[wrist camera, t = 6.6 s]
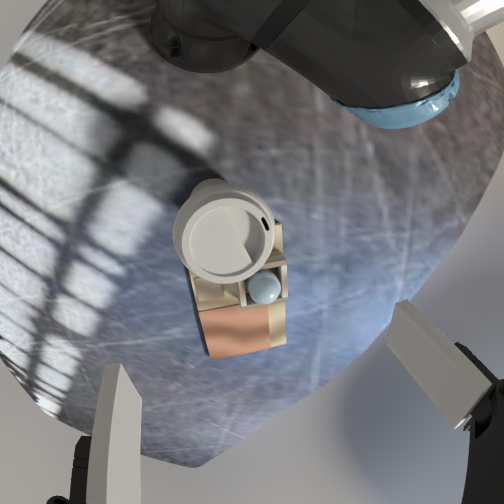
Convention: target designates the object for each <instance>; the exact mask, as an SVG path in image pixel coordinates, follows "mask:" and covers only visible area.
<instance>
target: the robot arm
mask: <svg viewBox="0 0 504 504" xmlns="http://www.w3.org/2000/svg"><path fill="white" fill-rule="evenodd" d="M158 1H159V2H158V3H157V5H156V7H155V9H154V11H153V14H152V18H151V35H152V38H153V41H154V43H155V46H156V48H157V49H158V51H159V52H160V54H161V55H162V56H163V57H164V58H165V59H166V60H167V61H169V62H170V63H172V64H173V65H175V66H177V67H179V68H182V69H184V70H188V71H192V72H197V73H216V72H222V71H226V70H230V69H232V68H235V67H237V66H239V65H241V64H243V63H245V62H246V61H247V60H249V59H250V58H251V57H252V56H253V55H254V54H255V53H256V52H257V51H258V50H259V49H260V48H261V49H263V50H264V51H265V52H267V53H269V54H270V55H272V56H274V57H275V58H277V59H278V60H280V61H281V62H283V63H284V64H286V65H287V66H289V67H290V68H292V69H293V70H295V71H296V72H298V73H299V74H301V75H302V76H303V77H305V78H306V79H308V80H309V81H310V82H312V83H313V84H314V85H316V86H317V87H319V88H320V89H321V90H322V91H324V92H325V93H326V94H328V95H329V96H330V98H331V100H333V101H334V102H335V103H336V104H338V105H339V106H341V107H343V108H346V109H348V110H349V111H350V112H351V113H353V114H354V115H355V116H356V117H358V118H359V119H360V120H362V121H363V122H365V123H367V124H369V125H373V126H375V127H378V128H383V129H400V128H406V127H410V126H414V125H417V124H420V123H422V122H425V121H427V120H429V119H431V118H432V117H434V116H436V115H437V114H439V113H440V112H441V111H443V110H444V109H445V108H446V107H447V106H448V105H449V102H448V99H450V98H454V97H455V95H456V93H457V91H458V88H459V76H458V70H457V68H459V67H461V66H463V65H465V64H466V63H468V62H470V61H471V53H472V41H473V39H474V36H476V35H478V34H480V33H482V32H484V31H486V30H487V29H489V28H491V27H493V26H495V25H497V24H499V23H501V22H503V21H504V0H158ZM386 344H387V346H388V347H389V348H390V349H391V351H393V353H394V354H395V355H396V357H397V358H398V359H399V360H400V361H401V363H402V364H403V365H404V366H405V368H406V369H407V370H408V371H409V373H410V374H411V375H412V376H413V378H414V379H415V380H416V381H417V382H418V384H419V385H420V386H421V388H422V389H423V390H424V391H425V392H426V394H427V395H428V397H429V398H430V399H431V400H432V402H433V403H434V404H435V405H436V407H437V408H438V409H439V411H440V412H441V413H442V415H443V416H444V417H445V419H446V420H447V421H448V423H449V424H450V425H451V427H452V428H453V429H455V428H456V427H458V426H459V425H460V424H461V423H463V422H464V421H465V420H466V419H467V417H468V416H469V415H470V414H471V415H472V418H471V419H470V420H469V421H468V422H467V423H466V425H465V426H464V429H463V431H465V430H466V429H467V428H468V427H469V426H470V428H469V429H468V431H470V444H469V445H470V446H469V457H468V466H467V474H466V481H465V487H464V493H463V498H462V503H461V504H504V379H501V380H499V379H497V378H496V377H495V376H494V375H493V374H492V373H491V372H490V371H489V370H488V369H487V368H486V366H484V365H483V363H482V362H481V361H480V360H478V358H477V357H476V356H475V355H473V354H472V352H471V351H470V350H469V349H468V348H467V347H466V346H464V345H462V344H459V343H458V342H456V343H455V344H453V343H452V342H451V341H450V340H449V339H448V338H447V337H446V336H445V335H444V334H443V333H442V332H441V331H440V330H439V329H438V328H437V327H436V326H435V325H434V324H432V322H430V321H429V320H428V319H427V318H426V317H425V316H424V315H423V314H422V313H421V312H420V311H419V310H418V309H416V308H415V307H414V306H413V305H412V304H411V303H410V302H409V301H408V300H407V299H406V300H404V301H401V302H398V303H395V307H394V312H393V316H392V320H391V324H390V328H389V332H388V336H387V340H386ZM141 411H142V399H141V397H140V395H139V394H138V392H137V390H136V389H135V387H134V385H133V384H132V382H131V380H130V379H129V377H128V375H127V373H126V372H125V370H124V368H123V366H122V364H121V363H114V364H106V365H105V369H104V374H103V378H102V383H101V387H100V392H99V397H98V403H97V408H96V414H95V420H94V426H93V433H92V436H81V437H80V439H79V441H78V442H77V444H76V447H75V453H74V458H75V459H74V460H73V468H72V478H71V487H70V498H69V500H68V499H66V498H64V497H63V496H53V497H51V498H50V499H49V500H48V501H47V503H46V504H141V484H140V436H141Z"/></svg>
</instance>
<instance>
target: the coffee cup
mask: <svg viewBox="0 0 504 504" xmlns="http://www.w3.org/2000/svg"><path fill="white" fill-rule="evenodd" d="M274 241H275V222H274V217H273V214H272V212H271V210H270V208H269V206H268V205H267V203H266V202H265V201H264V199H263V198H262V197H261V196H259V195H258V194H257V193H256V192H254V191H253V190H251V189H249V188H247V187H244V186H241V185H237V184H230V183H228V182H226V181H224V180H222V179H217V178H211V179H206V180H204V181H202V182H200V183H199V184H198V185H197V186H196V187H195V188H194V189H193V191H192V193H191V195H190V198H189V199H188V200H187V201H186V202H185V203H184V204H183V205H182V207H181V208H180V210H179V212H178V214H177V216H176V219H175V222H174V227H173V242H174V246H175V250H176V252H177V254H178V256H179V258H180V260H181V261H182V263H183V264H184V265H185V266H186V267H187V268H188V269H189V270H190V271H191V272H192V273H194V274H195V275H197V276H199V277H200V278H203V279H205V280H208V281H211V282H214V283H221V284H228V283H235V282H239V281H242V280H244V279H247V278H248V277H250V276H252V275H253V274H255V273H256V272H257V271H258V270H259V269H260V268H261V267H262V266H263V265H264V263H265V262H266V260H267V259H268V257H269V255H270V253H271V251H272V248H273V245H274Z"/></svg>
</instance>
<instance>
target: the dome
mask: <svg viewBox="0 0 504 504" xmlns="http://www.w3.org/2000/svg"><path fill="white" fill-rule="evenodd" d="M246 285H247V288H248V291H249V293H250V296H251V298H252V299H253V300H254V301H255V302H257V303H261V304H269V303H272V302H273V301H275V300H276V299H277V297H278V295H279V294H280V291H281V285H280V282H279V281H278V279H277V277H276V276H275V274H274V272H273V271H272V270H271V269H270V268H268V269H263V270H258V271H257V272H256V273H255V274H253V275H252V276H250V277H248V278H247V279H246Z"/></svg>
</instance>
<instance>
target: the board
mask: <svg viewBox="0 0 504 504" xmlns="http://www.w3.org/2000/svg"><path fill="white" fill-rule="evenodd" d="M268 268H270V269H271V270H272V271H273V272H274V274H275V276H276V277H277V279H278V281H279V282H280V285H281V291H280V294H279V295H278V297H277V299H276V300H275V301H273V302H272V303H269V304H261V303H257V302H255V301H254V300H253V299H252V298H251V296H250V293H249V291H248V288H247V285H246V279H244V280H242V281H239V282H235V283H228V284H221V283H214V282H211V281H208V280H205V279H203V278H200V277H199V276H197V275H195V274H194V273H192V272H191V271H190V270H189V274H190V278H191V282H192V287H193V291H194V295H195V300H196V304H197V308H198V312H199V316H200V320H201V324H202V328H203V332H204V336H205V340H206V344H207V347H208V351H209V355H210V358H211V360H214V359H220V358H225V357H230V356H235V355H241V354H245V353H250V352H255V351H260V350H264V349H269V348H271V347H274V346H278V345H282V344H286V317H285V302H287V301H288V290H287V262H286V259H285V257H284V256H283V244H282V226H281V224H280V223H275V241H274V245H273V248H272V251H271V253H270V255H269V257H268V259H267V260H266V262H265V263H264V265H263V266H262V267H261V268H260V269H259V270H263V269H268Z"/></svg>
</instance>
